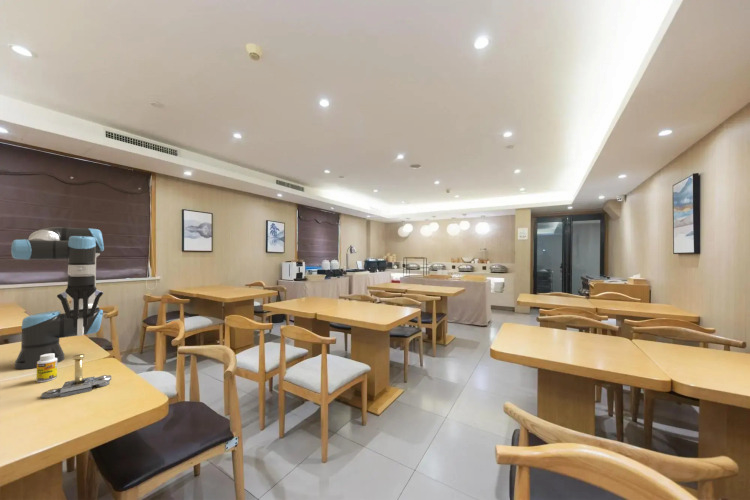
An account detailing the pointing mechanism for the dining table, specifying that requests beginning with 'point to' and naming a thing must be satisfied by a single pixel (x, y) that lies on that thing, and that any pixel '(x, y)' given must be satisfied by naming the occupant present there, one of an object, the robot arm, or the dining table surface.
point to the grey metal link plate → (77, 387)
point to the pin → (78, 368)
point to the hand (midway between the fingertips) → (80, 334)
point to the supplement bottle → (46, 368)
